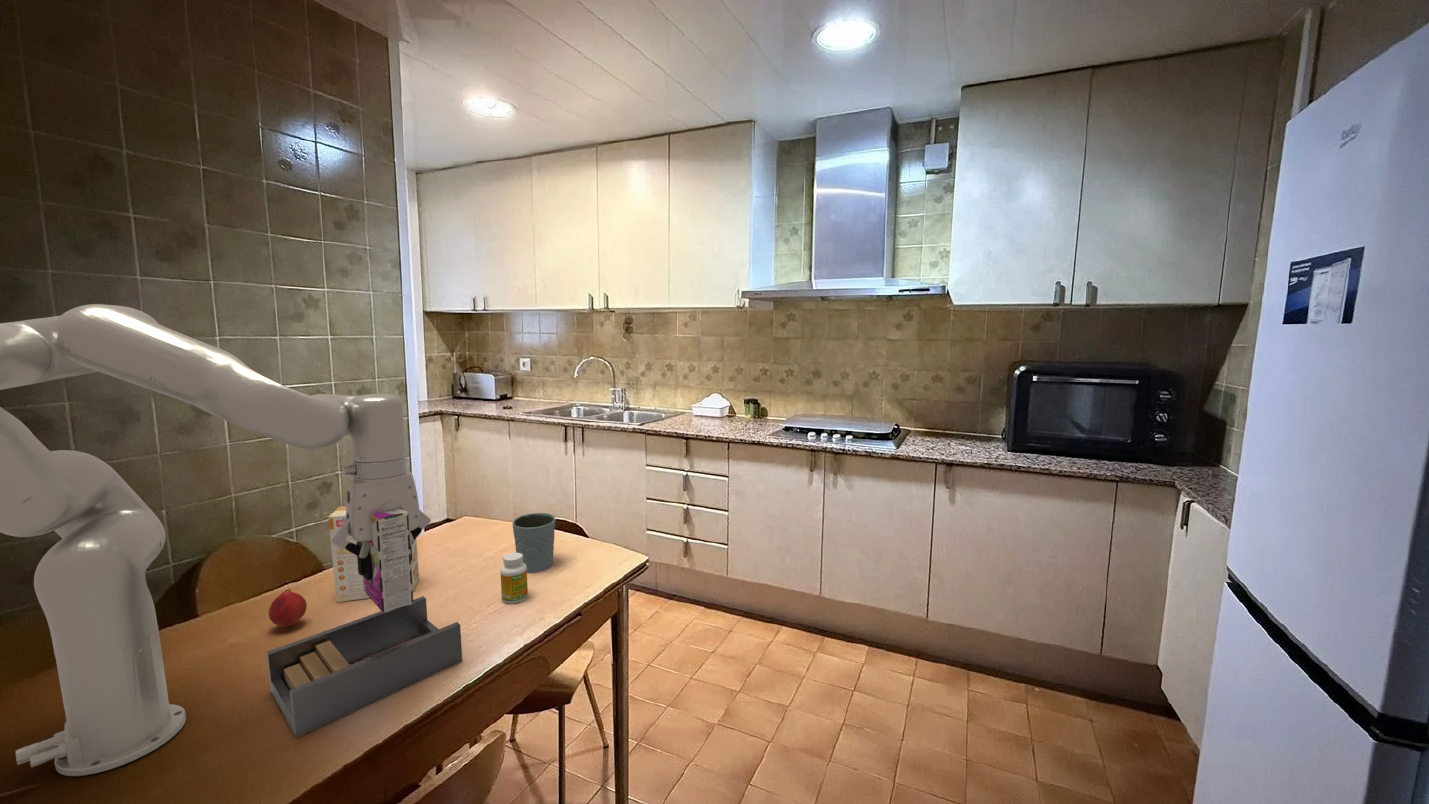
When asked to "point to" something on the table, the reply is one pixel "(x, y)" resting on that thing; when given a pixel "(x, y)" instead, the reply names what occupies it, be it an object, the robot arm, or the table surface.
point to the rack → (358, 664)
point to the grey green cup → (535, 540)
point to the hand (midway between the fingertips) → (386, 570)
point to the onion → (287, 608)
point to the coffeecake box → (354, 563)
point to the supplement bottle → (514, 579)
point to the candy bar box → (390, 561)
